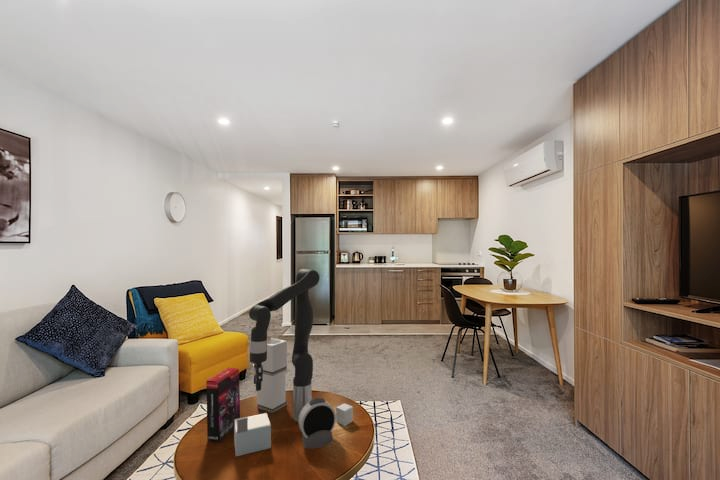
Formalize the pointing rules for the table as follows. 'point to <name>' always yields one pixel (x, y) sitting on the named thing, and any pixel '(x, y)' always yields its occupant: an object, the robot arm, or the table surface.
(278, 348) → the grey square tower
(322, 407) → the alarm clock
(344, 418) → the product box
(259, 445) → the grey flat panel
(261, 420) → the carton
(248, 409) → the table surface
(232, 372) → the graphics card box
